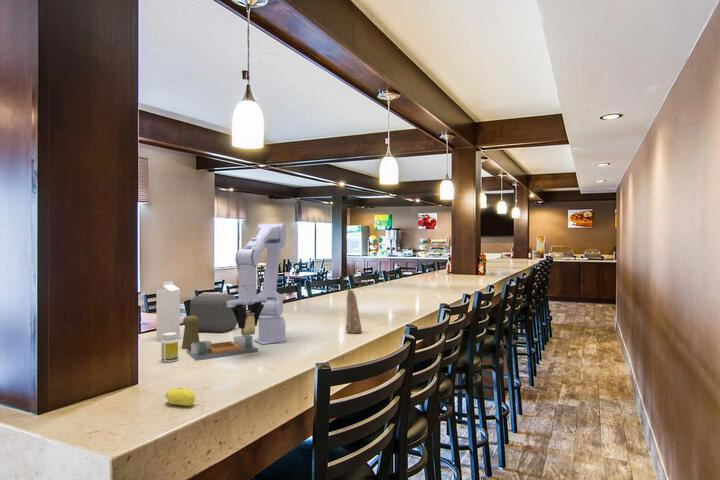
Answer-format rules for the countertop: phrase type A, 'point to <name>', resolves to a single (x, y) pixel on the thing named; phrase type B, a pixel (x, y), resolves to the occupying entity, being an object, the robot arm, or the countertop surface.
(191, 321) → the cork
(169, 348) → the supplement bottle
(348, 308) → the brown tapered stone
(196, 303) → the dark grey rounded block
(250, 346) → the bench plate
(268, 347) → the countertop surface
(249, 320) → the tan and grey cylinder
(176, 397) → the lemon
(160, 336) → the milk
